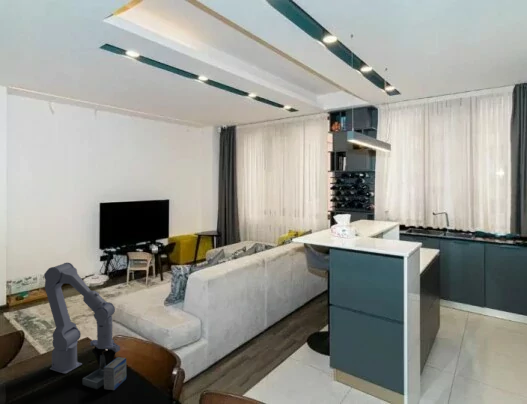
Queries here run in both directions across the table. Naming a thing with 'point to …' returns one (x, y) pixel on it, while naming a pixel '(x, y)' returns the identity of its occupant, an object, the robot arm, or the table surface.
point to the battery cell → (102, 360)
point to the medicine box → (114, 373)
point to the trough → (94, 379)
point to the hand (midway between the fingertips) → (105, 365)
